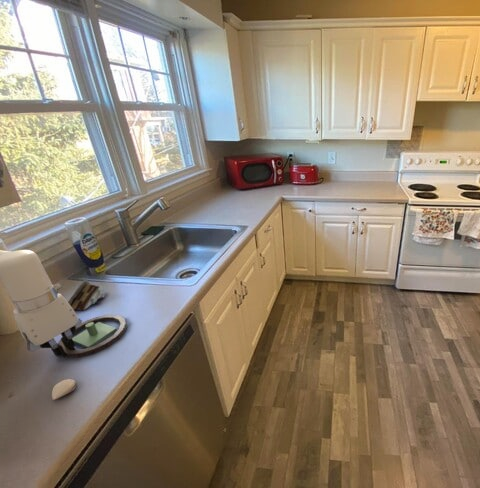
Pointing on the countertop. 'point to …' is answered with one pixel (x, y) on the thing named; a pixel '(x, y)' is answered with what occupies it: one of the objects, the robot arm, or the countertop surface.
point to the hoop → (102, 345)
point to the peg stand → (93, 334)
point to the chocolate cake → (86, 295)
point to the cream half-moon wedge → (63, 388)
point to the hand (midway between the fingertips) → (66, 352)
